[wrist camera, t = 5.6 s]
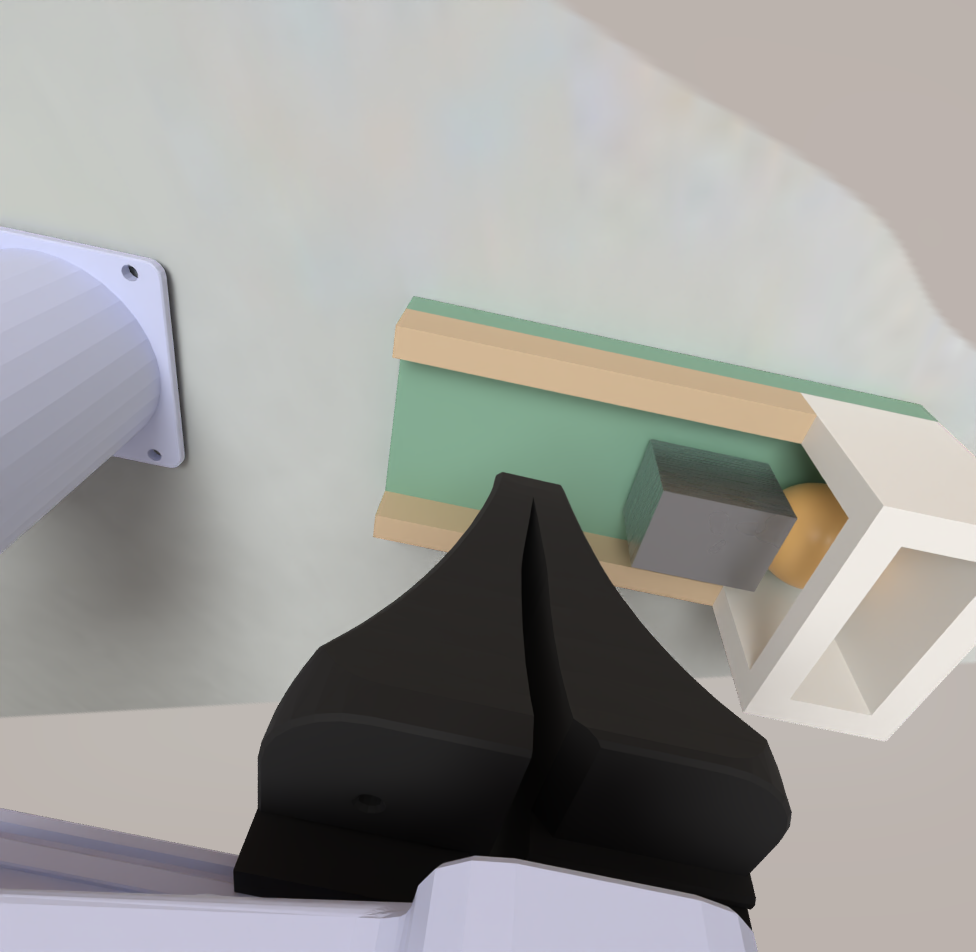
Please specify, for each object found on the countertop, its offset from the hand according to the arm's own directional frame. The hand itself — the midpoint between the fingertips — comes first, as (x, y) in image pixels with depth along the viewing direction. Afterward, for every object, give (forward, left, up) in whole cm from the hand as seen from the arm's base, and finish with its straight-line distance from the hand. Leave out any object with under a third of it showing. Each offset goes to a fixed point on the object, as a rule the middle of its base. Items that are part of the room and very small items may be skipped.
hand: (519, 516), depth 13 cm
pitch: (+4, -3, -9) cm, 11 cm away
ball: (+10, -3, -6) cm, 12 cm away
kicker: (+6, -3, -8) cm, 11 cm away
